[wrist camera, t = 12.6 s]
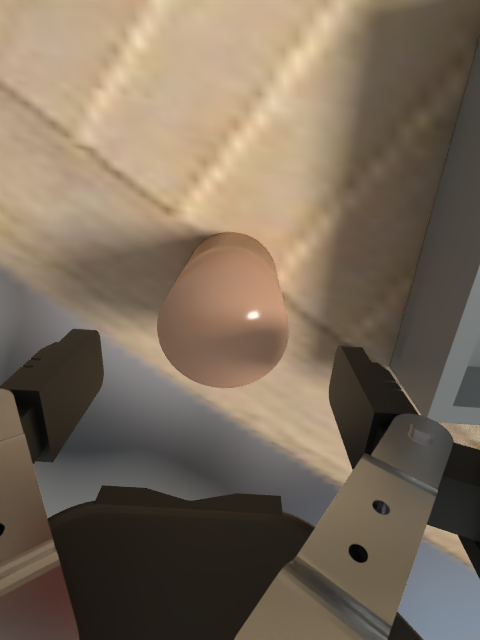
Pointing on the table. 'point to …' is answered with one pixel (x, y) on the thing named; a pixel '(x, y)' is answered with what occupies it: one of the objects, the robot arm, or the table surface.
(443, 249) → the gray tote
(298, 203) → the table surface
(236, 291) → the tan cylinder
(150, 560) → the robot arm
